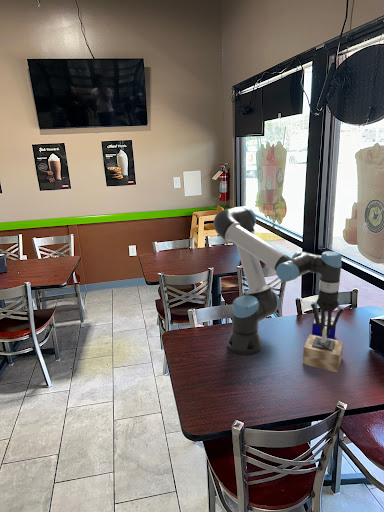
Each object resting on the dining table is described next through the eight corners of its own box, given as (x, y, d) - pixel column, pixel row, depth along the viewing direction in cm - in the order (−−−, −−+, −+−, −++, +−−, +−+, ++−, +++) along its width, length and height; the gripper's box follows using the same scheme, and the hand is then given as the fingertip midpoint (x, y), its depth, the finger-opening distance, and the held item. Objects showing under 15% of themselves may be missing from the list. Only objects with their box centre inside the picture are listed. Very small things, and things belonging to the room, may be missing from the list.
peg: (316, 359, 152) (317, 343, 150) (318, 354, 156) (319, 338, 154) (326, 362, 150) (328, 345, 148) (328, 357, 154) (330, 340, 152)
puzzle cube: (311, 342, 168) (312, 323, 165) (312, 332, 177) (314, 314, 174) (333, 346, 164) (335, 326, 162) (334, 335, 173) (336, 317, 170)
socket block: (302, 363, 152) (303, 345, 149) (308, 350, 162) (309, 333, 159) (337, 372, 145) (339, 354, 143) (341, 357, 155) (343, 340, 153)
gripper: (310, 290, 144) (306, 342, 151) (344, 295, 138) (339, 349, 144) (313, 284, 150) (310, 334, 157) (347, 289, 144) (341, 341, 151)
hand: (324, 341), depth 151 cm, fingers closed
